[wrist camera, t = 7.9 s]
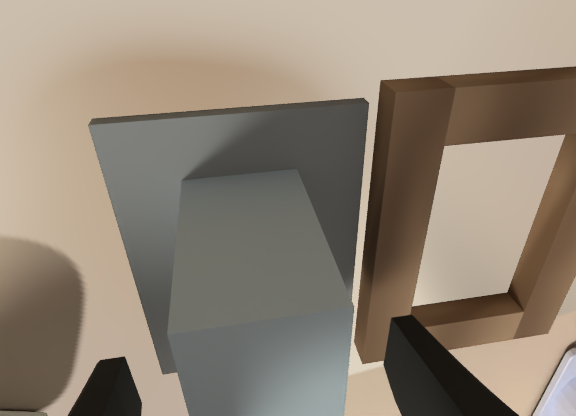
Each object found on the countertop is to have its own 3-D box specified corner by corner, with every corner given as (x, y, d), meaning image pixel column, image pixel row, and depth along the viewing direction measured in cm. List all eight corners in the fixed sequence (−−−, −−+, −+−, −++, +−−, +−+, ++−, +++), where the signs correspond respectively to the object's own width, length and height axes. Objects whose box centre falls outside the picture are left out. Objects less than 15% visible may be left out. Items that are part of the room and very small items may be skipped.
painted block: (296, 168, 13) (353, 306, 8) (298, 320, 17) (338, 478, 12) (181, 180, 13) (167, 334, 8) (210, 333, 16) (212, 503, 11)
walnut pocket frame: (639, 61, 14) (673, 71, 13) (531, 314, 20) (547, 333, 19) (380, 80, 13) (395, 92, 12) (354, 342, 19) (362, 364, 18)
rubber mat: (363, 97, 13) (368, 103, 12) (344, 336, 19) (347, 345, 18) (92, 118, 12) (87, 124, 11) (163, 364, 18) (162, 374, 17)
